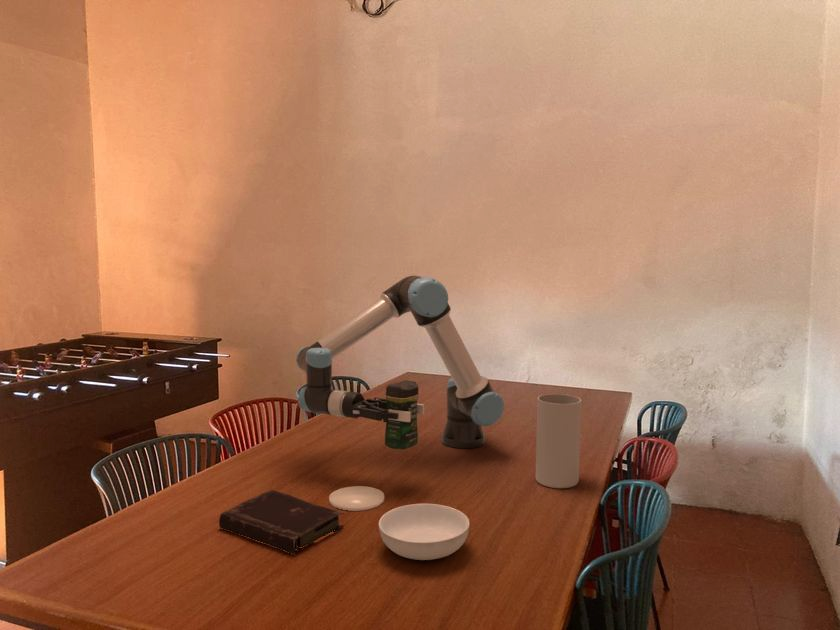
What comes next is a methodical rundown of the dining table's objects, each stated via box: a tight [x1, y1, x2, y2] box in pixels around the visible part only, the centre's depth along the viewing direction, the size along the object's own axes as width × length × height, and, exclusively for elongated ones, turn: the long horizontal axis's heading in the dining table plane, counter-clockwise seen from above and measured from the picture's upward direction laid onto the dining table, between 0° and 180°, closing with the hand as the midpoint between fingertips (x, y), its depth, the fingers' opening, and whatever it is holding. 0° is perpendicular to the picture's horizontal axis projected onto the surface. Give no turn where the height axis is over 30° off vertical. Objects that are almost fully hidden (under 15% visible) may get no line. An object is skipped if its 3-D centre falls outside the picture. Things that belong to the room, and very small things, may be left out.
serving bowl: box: [378, 503, 470, 561], centre depth 154 cm, size 21×21×7 cm
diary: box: [218, 489, 345, 554], centre depth 164 cm, size 19×25×5 cm
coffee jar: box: [384, 379, 419, 451], centre depth 188 cm, size 10×8×19 cm
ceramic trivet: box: [328, 485, 385, 512], centre depth 182 cm, size 15×15×1 cm
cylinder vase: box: [535, 393, 582, 489], centre depth 196 cm, size 12×12×25 cm
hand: (416, 413), depth 186 cm, fingers closed on coffee jar, 8 cm apart
